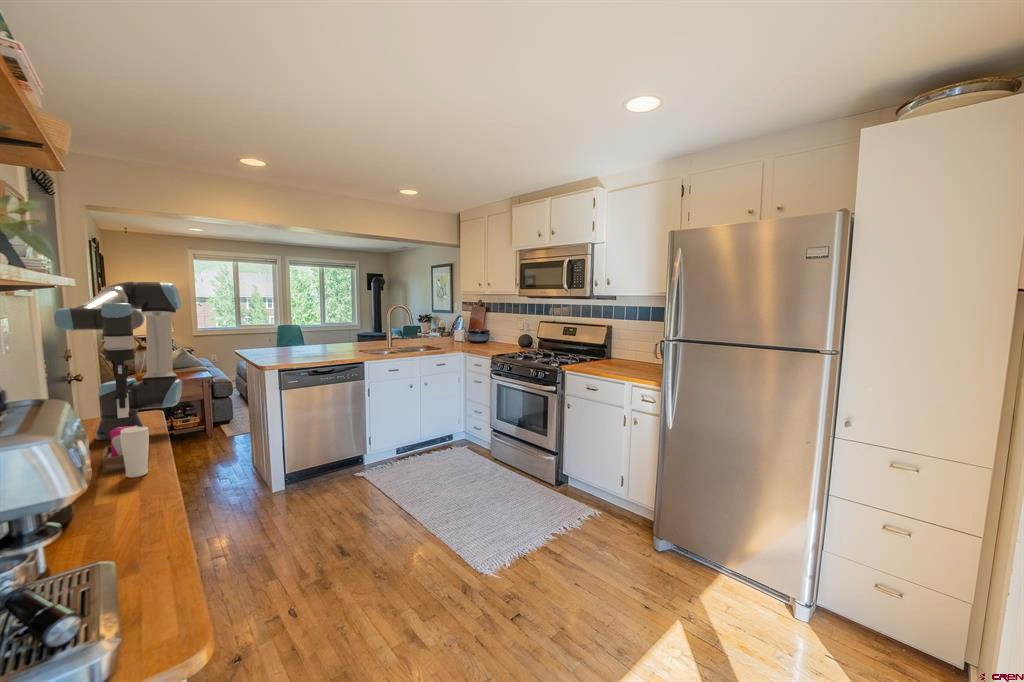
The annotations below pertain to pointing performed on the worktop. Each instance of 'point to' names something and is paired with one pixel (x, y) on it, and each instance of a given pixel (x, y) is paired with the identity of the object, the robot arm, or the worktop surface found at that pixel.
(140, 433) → the white cup
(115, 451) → the supplement box
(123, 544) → the worktop surface
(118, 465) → the crate
